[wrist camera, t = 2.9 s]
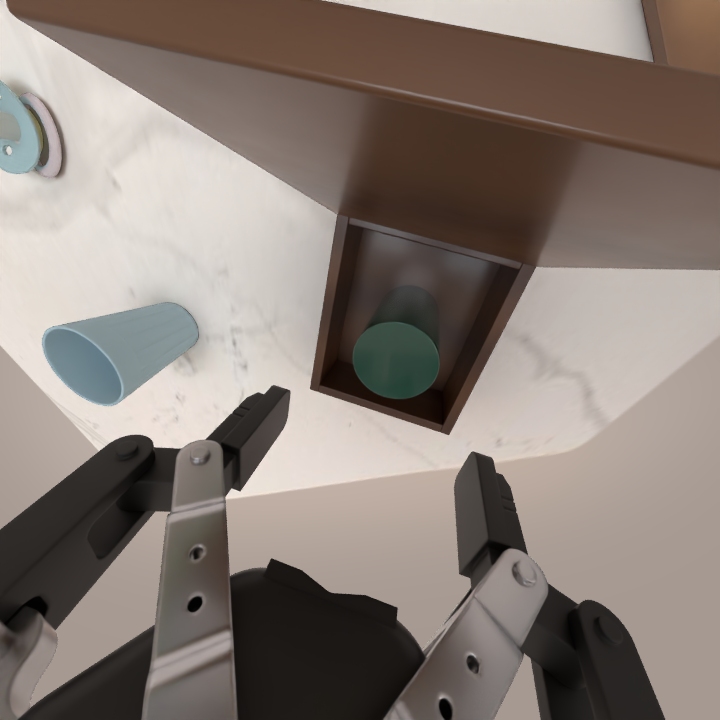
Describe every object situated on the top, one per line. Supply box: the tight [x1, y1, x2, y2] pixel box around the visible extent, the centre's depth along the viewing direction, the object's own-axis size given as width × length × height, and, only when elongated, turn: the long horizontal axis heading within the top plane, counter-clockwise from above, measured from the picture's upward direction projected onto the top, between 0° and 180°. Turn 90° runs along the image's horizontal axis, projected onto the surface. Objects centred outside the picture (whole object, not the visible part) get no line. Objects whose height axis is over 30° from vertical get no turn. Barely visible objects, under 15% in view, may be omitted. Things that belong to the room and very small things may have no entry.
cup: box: [42, 303, 198, 406], centre depth 29 cm, size 8×8×10 cm
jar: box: [353, 285, 440, 399], centre depth 22 cm, size 5×5×9 cm
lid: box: [6, 0, 720, 270], centre depth 10 cm, size 15×13×1 cm
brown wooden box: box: [310, 214, 536, 435], centre depth 24 cm, size 15×13×6 cm
